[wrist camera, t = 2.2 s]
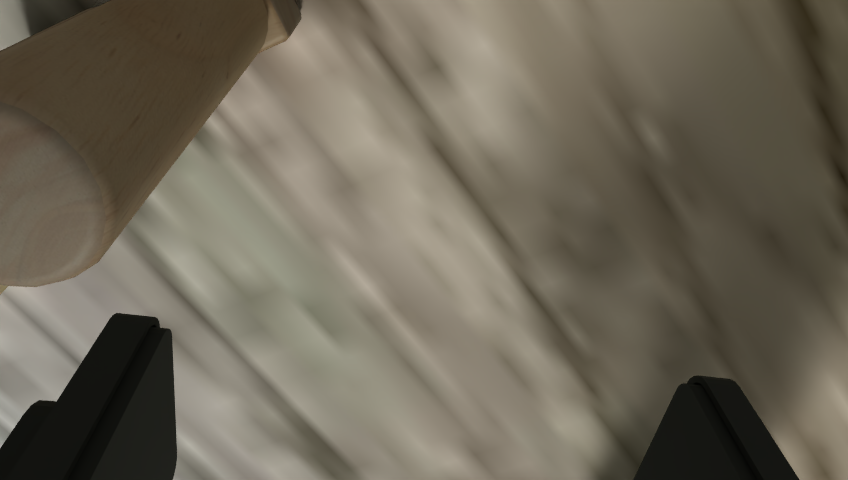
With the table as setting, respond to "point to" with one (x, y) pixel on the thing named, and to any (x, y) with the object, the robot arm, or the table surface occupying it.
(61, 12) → the table surface
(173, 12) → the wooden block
